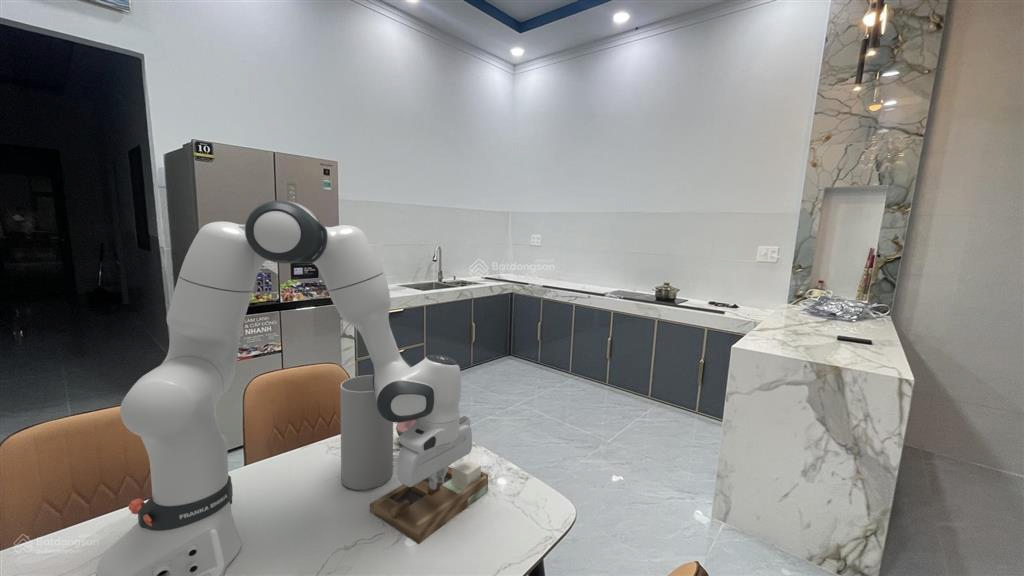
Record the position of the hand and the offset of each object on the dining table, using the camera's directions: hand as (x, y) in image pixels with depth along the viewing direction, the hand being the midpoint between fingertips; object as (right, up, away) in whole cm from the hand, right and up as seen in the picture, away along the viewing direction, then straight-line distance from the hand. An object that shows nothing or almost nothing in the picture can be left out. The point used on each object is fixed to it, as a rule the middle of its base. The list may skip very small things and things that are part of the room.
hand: (436, 486), depth 92 cm
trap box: (-2, -5, +4) cm, 7 cm away
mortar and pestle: (-12, -2, +31) cm, 34 cm away
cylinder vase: (-20, -4, +13) cm, 24 cm away
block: (+6, -3, +8) cm, 10 cm away
